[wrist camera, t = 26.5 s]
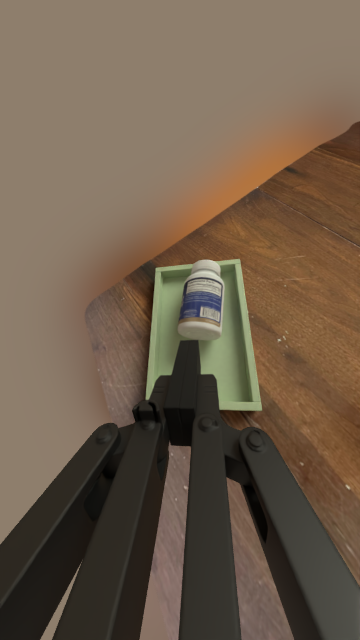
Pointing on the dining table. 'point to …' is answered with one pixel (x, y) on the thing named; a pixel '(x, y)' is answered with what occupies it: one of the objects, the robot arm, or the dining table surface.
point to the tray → (215, 355)
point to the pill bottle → (202, 303)
